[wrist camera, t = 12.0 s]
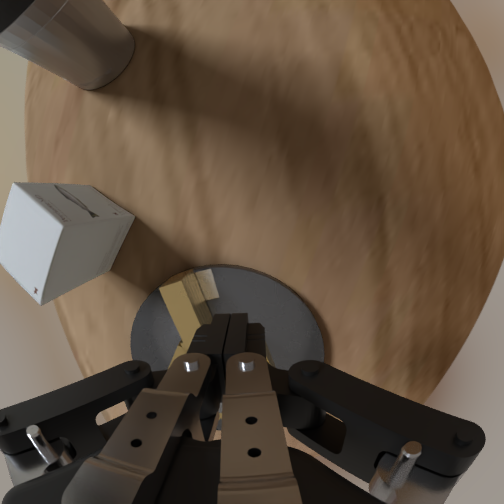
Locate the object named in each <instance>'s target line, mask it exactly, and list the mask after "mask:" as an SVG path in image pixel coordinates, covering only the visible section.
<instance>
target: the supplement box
mask: <svg viewBox="0 0 504 504" xmlns="http://www.w3.org/2000/svg"><path fill="white" fill-rule="evenodd" d="M134 219H135V216H134V215H133V214H131V213H129V212H128V211H126V210H124V209H123V208H121V207H120V206H118V205H117V204H115V203H114V202H112V201H111V200H109V199H108V198H106V197H105V196H104V195H102V194H101V193H100V192H98V191H97V190H96V189H94V188H93V187H92V186H90V185H78V184H59V183H20V182H19V183H17V182H14V183H13V184H12V188H11V190H10V194H9V197H8V200H7V204H6V207H5V210H4V214H3V218H2V222H1V226H0V264H1V265H3V267H4V268H5V269H6V270H7V272H9V274H10V275H11V276H12V277H13V278H14V279H15V280H16V281H17V282H18V283H19V284H20V285H21V286H22V287H23V288H24V289H25V290H26V291H27V292H28V293H29V294H30V295H31V296H32V298H34V299H35V300H36V301H37V302H38V303H39V304H40V305H41V306H42V305H44V304H46V303H48V302H50V301H51V300H53V299H55V298H57V297H59V296H61V295H63V294H65V293H66V292H68V291H70V290H72V289H74V288H76V287H78V286H80V285H82V284H84V283H86V282H88V281H90V280H92V279H94V278H96V277H98V276H100V275H102V274H104V273H106V272H108V271H110V269H111V267H112V264H113V262H114V260H115V258H116V256H117V254H118V252H119V249H120V247H121V245H122V243H123V241H124V239H125V237H126V235H127V233H128V231H129V229H130V227H131V225H132V223H133V221H134Z"/></svg>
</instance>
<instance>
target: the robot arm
mask: <svg viewBox="0 0 504 504" xmlns="http://www.w3.org/2000/svg"><path fill="white" fill-rule="evenodd" d="M0 46H1V47H3V48H6V49H8V50H10V51H12V52H14V53H16V54H18V55H20V56H22V57H24V58H26V59H27V60H29V61H31V62H33V63H35V64H37V65H39V66H41V67H43V68H45V69H47V70H49V71H50V72H52V73H54V74H56V75H58V76H60V77H61V78H63V79H65V80H67V81H69V82H70V83H72V84H74V85H76V86H78V87H79V88H82V89H85V90H92V89H97V88H99V87H102V86H104V85H106V84H108V83H109V82H111V81H112V80H113V79H115V78H116V77H117V76H118V75H119V74H120V73H121V72H122V71H123V70H124V68H125V67H126V66H127V64H128V63H129V61H130V59H131V57H132V55H133V52H134V46H135V44H134V39H133V37H132V35H131V33H130V32H129V31H128V30H127V29H126V27H125V26H124V25H123V24H122V23H121V21H120V20H119V19H118V18H117V17H116V15H115V14H114V13H113V12H112V11H111V10H110V8H109V7H108V6H107V5H106V4H105V3H104V1H103V0H0ZM122 401H125V404H126V407H127V409H128V412H127V413H125V414H123V415H121V416H119V417H117V418H115V419H113V420H111V421H109V422H107V423H104V424H102V425H97V424H96V420H95V419H96V416H97V414H98V413H99V412H101V411H103V410H105V409H107V408H110V407H112V406H114V405H116V404H118V403H120V402H122ZM220 403H222V428H221V440H214V441H213V439H214V435H215V432H216V428H217V425H218V421H219V417H220V415H219V408H220ZM326 412H328V413H330V414H332V415H333V416H335V417H337V418H339V419H340V420H342V421H343V422H341V421H339V420H338V419H336V418H334V417H332V416H330V415H329V414H327V413H326ZM283 427H287V429H288V432H289V433H290V434H291V435H292V436H293V437H294V438H296V439H297V440H299V441H300V442H302V443H303V444H305V445H306V446H308V447H309V448H311V449H312V450H314V451H315V452H317V453H318V454H320V455H321V456H323V457H325V458H326V459H328V460H329V461H331V462H332V463H334V464H336V465H337V466H339V467H341V468H342V469H344V470H346V471H347V472H349V473H351V474H353V475H354V476H356V477H358V478H360V479H362V480H363V481H365V482H367V483H369V492H370V494H369V493H368V492H366V491H364V490H363V489H361V488H359V487H358V486H356V485H355V484H353V483H351V482H350V481H348V480H347V479H345V478H344V477H342V476H340V475H339V474H337V473H336V472H334V471H333V470H331V469H330V468H328V467H327V466H326V465H324V464H323V463H321V462H320V461H318V460H317V459H316V458H314V457H313V456H311V455H309V454H307V453H305V452H303V451H301V450H298V449H295V448H292V447H288V446H287V443H286V438H285V434H284V429H283ZM485 440H486V439H485V434H484V431H483V430H482V428H481V427H480V426H478V425H477V424H475V423H473V422H470V421H468V420H464V419H461V418H458V417H455V416H452V415H450V414H446V413H444V412H441V411H438V410H436V409H433V408H430V407H427V406H425V405H422V404H419V403H417V402H414V401H412V400H409V399H406V398H404V397H401V396H399V395H396V394H394V393H391V392H389V391H387V390H384V389H382V388H379V387H377V386H375V385H372V384H370V383H368V382H365V381H363V380H361V379H358V378H356V377H354V376H352V375H349V374H347V373H345V372H343V371H341V370H338V369H336V368H334V367H332V366H330V365H328V364H325V363H323V362H321V361H317V360H304V361H300V362H297V363H295V364H293V365H292V366H291V367H290V368H289V370H282V369H278V368H275V367H273V366H271V365H270V364H269V363H268V362H267V359H266V343H265V328H264V327H263V326H262V325H261V324H260V323H249V322H248V313H232V314H230V313H227V314H214V316H213V319H212V322H211V324H203V325H202V326H200V327H199V328H198V329H197V330H196V332H195V334H194V337H193V339H192V341H191V344H190V346H189V348H188V351H187V353H186V354H183V355H181V356H179V357H177V358H176V359H175V360H174V361H173V362H172V364H171V366H170V367H169V369H167V370H161V371H153V372H152V370H151V367H150V365H149V364H148V363H147V362H145V361H141V360H132V361H127V362H124V363H122V364H119V365H117V366H115V367H112V368H110V369H108V370H105V371H103V372H100V373H98V374H95V375H93V376H90V377H88V378H85V379H83V380H80V381H78V382H75V383H73V384H70V385H68V386H65V387H62V388H60V389H57V390H55V391H52V392H49V393H46V394H44V395H41V396H38V397H36V398H33V399H30V400H27V401H24V402H21V403H19V404H16V405H13V406H10V407H7V408H4V409H1V410H0V451H1V452H2V453H3V454H4V456H5V459H6V463H7V466H8V470H9V473H10V476H11V479H12V482H13V485H14V487H13V488H12V489H11V490H10V491H8V493H7V494H6V495H5V497H4V498H3V501H2V504H444V502H445V501H446V499H447V497H448V496H449V494H450V492H451V490H452V488H453V487H454V486H455V485H456V484H457V482H458V481H459V480H460V479H461V477H462V476H463V475H464V473H465V472H466V471H467V470H468V468H469V467H470V465H471V464H472V463H473V461H474V460H475V458H476V457H477V456H478V454H479V453H480V451H481V450H482V448H483V447H484V444H485Z"/></svg>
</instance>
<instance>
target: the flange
mask: <svg viewBox="0 0 504 504" xmlns="http://www.w3.org/2000/svg"><path fill="white" fill-rule="evenodd" d="M192 269H193V272H194V274H195V277H196V279H197V282H198V284H199V287H200V289H201V291H202V294H203V296H204V299H205V301H206V304H207V306H208V308H209V311H210V313H211V315H212V318H213V316H214V314H227V313H230V314H232V313H248V322H249V323H260V324H261V325H262V326H263V327H264V328H265V341H266V343H267V346H268V349H269V351H270V354H271V356H272V359H273V361H274V364H275V367H276V368H278V369H282V370H289V368H290V367H291V366H292V365H293V364H295V363H297V362H300V361H304V360H317V361H321V362H323V363H324V344H323V340H322V336H321V332H320V330H319V327H318V325H317V323H316V320H315V318H314V316H313V314H312V313H311V311H310V310H309V308H308V306H307V305H306V304H305V303H304V301H303V300H302V299H301V298H300V297H299V296H298V295H297V294H296V293H295V292H294V291H293V290H292V289H291V288H289V287H288V286H287V285H285V284H284V283H282V282H281V281H279V280H278V279H276V278H274V277H272V276H270V275H268V274H266V273H263V272H260V271H258V270H255V269H252V268H247V267H243V266H238V265H226V264H218V265H206V266H200V267H195V268H192ZM189 270H190V269H189ZM186 271H187V270H186ZM183 272H185V271H183ZM181 273H182V272H181ZM165 282H166V281H165ZM165 282H164V283H165ZM164 283H162V284H161V285H160V286H159V287H158V288H157V289H156V290H154V291H153V292H152V293H151V294H150V295H149V296H148V297H147V299H146V300H145V301H144V302H143V304H142V305H141V307H140V309H139V311H138V312H137V314H136V317H135V320H134V323H133V326H132V331H131V354H132V359H133V360H141V361H145V362H147V363H148V364H149V365H150V367H151V370H152V372H153V371H161V370H167V369H168V368H169V365H170V363H171V360H172V358H173V356H174V353H175V351H176V349H177V346H178V344H179V342H180V341H181V336H180V334H179V332H178V330H177V328H176V326H175V324H174V322H173V319H172V317H171V315H170V313H169V311H168V308H167V306H166V304H165V302H164V299H163V297H162V295H161V292H160V290H159V288H160V287H161V286H162V285H163V284H164ZM219 413H222V403H220V408H219ZM221 428H222V419H221V418H220V420H219V421H218V425H217V428H216V430H221Z"/></svg>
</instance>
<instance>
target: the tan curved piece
mask: <svg viewBox="0 0 504 504" xmlns="http://www.w3.org/2000/svg"><path fill="white" fill-rule="evenodd" d="M159 290H160V292H161V295H162V297H163V299H164V302H165V304H166V306H167V308H168V311H169V313H170V315H171V317H172V319H173V322H174V324H175V326H176V328H177V330H178V332H179V334H180V336H181V341H180V342H179V344H178V346H177V349H176V351H175V353H174V356H173V358H172V360H171V363H170V365H169V367H170V366H171V364H172V362H173V361H174V360H175V359H176V358H177V357H179V356H181V355H183V354H186V353H187V351H188V348H189V346H190V344H191V341H192V339H193V337H194V334H195V332H196V330H197V329H198V328H199V327H200V326H202V325H203V324H211V322H212V319H213V318H212V315H211V313H210V311H209V308H208V306H207V304H206V301H205V299H204V296H203V294H202V291H201V289H200V287H199V284H198V282H197V279H196V277H195V274H194V272H193V269H190V270H187V271H185V272H182V273H179V274H176V275H173V276H172V277H170V278H169V279H168V280H167V281H166V282H165V283H164V284H163V285H162V286H161V287H160V288H159ZM265 343H266V341H265ZM266 359H267V362H268V363H269V364H270V365H271V366H273V367H275V364H274V361H273V359H272V356H271V354H270V351H269V349H268V346H267V343H266ZM275 368H276V367H275ZM168 369H169V368H168ZM219 415H220V417H219V420H220V418H221V419H222V413H219Z"/></svg>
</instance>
